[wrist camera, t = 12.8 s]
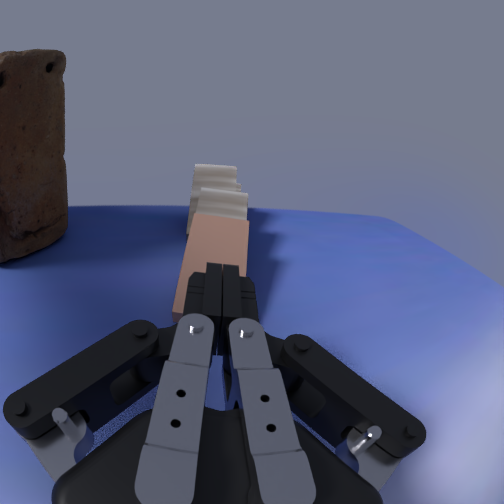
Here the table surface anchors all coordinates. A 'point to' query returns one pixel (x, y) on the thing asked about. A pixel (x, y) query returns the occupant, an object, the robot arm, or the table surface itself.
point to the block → (32, 151)
